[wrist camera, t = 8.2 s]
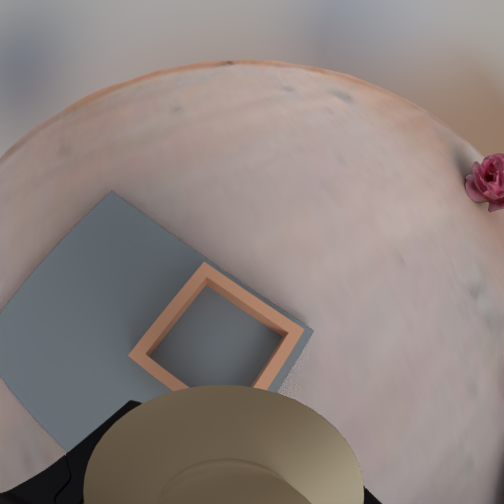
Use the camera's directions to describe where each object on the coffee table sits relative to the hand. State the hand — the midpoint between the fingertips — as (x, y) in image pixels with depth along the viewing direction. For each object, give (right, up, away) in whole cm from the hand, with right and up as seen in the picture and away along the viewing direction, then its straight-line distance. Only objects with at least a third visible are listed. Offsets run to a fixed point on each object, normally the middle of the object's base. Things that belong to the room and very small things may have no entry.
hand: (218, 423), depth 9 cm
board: (-8, -1, +11) cm, 13 cm away
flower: (+35, +14, +27) cm, 47 cm away
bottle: (-1, -4, +4) cm, 6 cm away
